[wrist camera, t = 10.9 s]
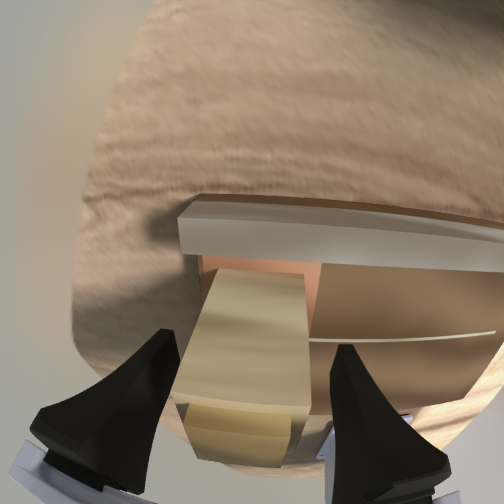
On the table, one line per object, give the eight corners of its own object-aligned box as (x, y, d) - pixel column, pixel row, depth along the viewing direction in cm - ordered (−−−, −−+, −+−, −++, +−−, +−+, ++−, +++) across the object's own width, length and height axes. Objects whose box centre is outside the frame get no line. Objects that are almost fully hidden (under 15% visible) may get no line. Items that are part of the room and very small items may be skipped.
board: (459, 389, 18) (468, 415, 16) (219, 395, 20) (211, 428, 18) (540, 231, 11) (567, 253, 8) (200, 193, 13) (177, 217, 10)
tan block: (295, 336, 15) (292, 472, 8) (222, 330, 15) (186, 459, 8) (303, 274, 13) (311, 430, 6) (218, 268, 13) (162, 413, 7)
